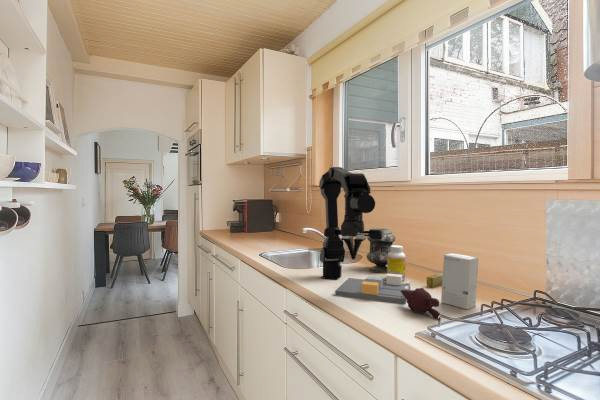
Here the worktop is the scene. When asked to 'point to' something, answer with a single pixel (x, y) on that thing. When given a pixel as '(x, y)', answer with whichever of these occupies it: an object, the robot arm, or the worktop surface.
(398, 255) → the supplement bottle
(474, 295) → the skincare box
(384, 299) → the panel
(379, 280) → the slider blue
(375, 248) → the apothecary jar
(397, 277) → the slider white
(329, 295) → the worktop surface
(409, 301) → the beetroot
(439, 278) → the medication box
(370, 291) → the slider orange
